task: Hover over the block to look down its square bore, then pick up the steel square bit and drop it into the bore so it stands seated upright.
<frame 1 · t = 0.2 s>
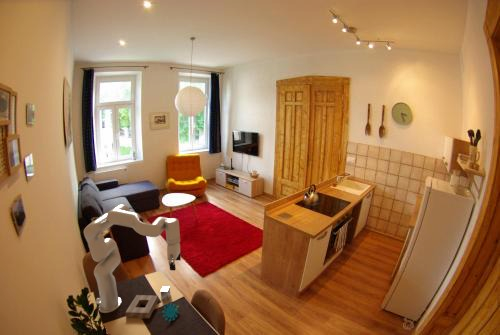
hand: (175, 264, 152), 31 cm above the table, fingers open, 9 cm apart
bore block: (142, 308, 158), on the table
gear: (171, 316, 153), on the table
peg: (166, 297, 167), on the table
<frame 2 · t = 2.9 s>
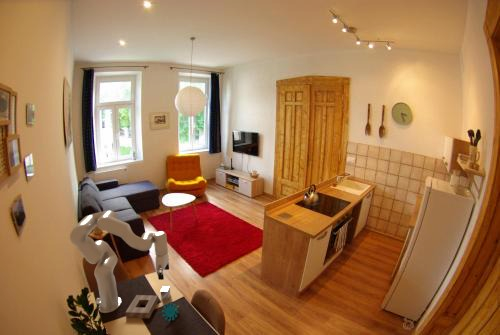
hand: (164, 274, 163), 18 cm above the table, fingers open, 9 cm apart
nothing on the table moved.
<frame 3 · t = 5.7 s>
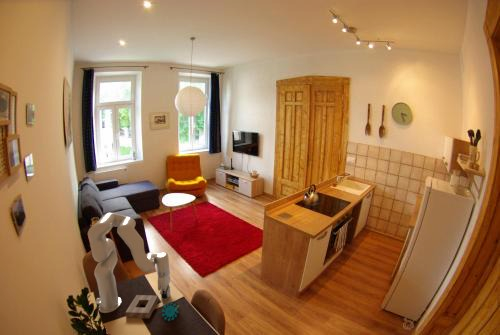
hand: (165, 295, 167), 2 cm above the table, fingers closed on peg, 4 cm apart
peg: (166, 297, 167), on the table, touching gripper
everything else where it was.
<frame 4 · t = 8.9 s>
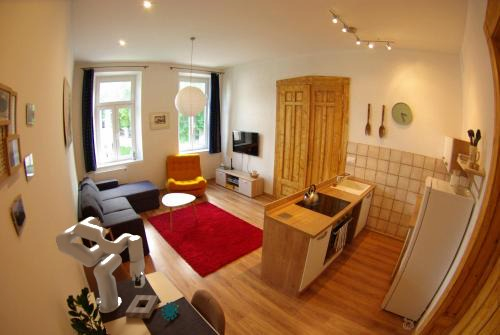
hand: (139, 282, 153), 19 cm above the table, fingers closed on peg, 4 cm apart
peg: (140, 285, 154), point 17 cm above the table, touching gripper
everything else where it was.
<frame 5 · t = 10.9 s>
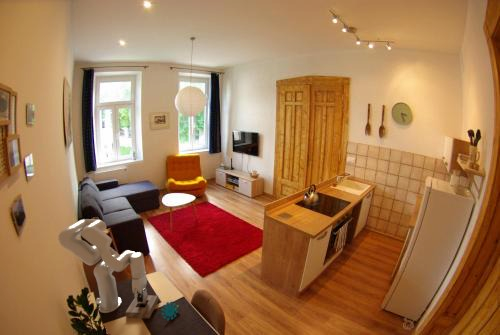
hand: (142, 298, 156), 8 cm above the table, fingers closed on peg, 4 cm apart
peg: (142, 300, 156), point 6 cm above the table, touching gripper
when the fingers open (5 cm above the table, at t = 12.4 s): peg drops 3 cm, resting in bore block.
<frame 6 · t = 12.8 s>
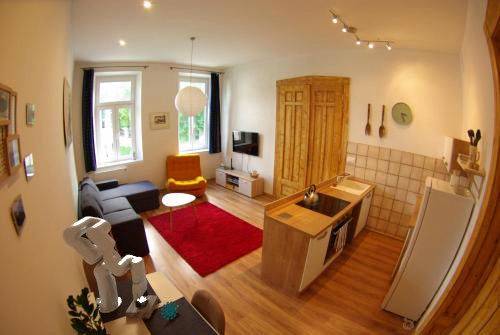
hand: (142, 301, 157), 6 cm above the table, fingers open, 8 cm apart
peg: (143, 308, 158), resting in bore block
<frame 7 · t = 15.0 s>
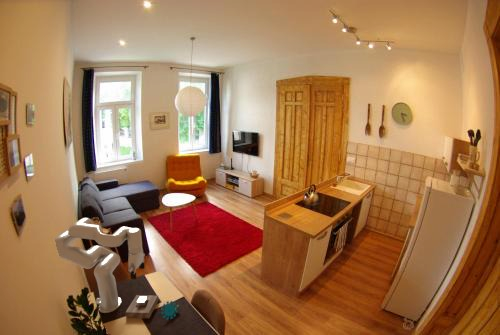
hand: (137, 273, 155), 24 cm above the table, fingers open, 9 cm apart
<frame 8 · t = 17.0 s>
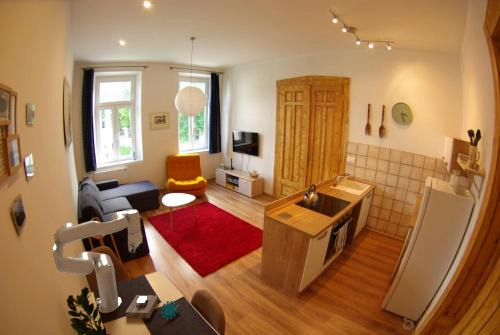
hand: (137, 253, 164), 30 cm above the table, fingers open, 9 cm apart
at the end: peg 0.1 cm off-centre on the bore block, point 0.0 cm above the bore block's base; peg tilted 0°; the gripper is holding nothing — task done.
